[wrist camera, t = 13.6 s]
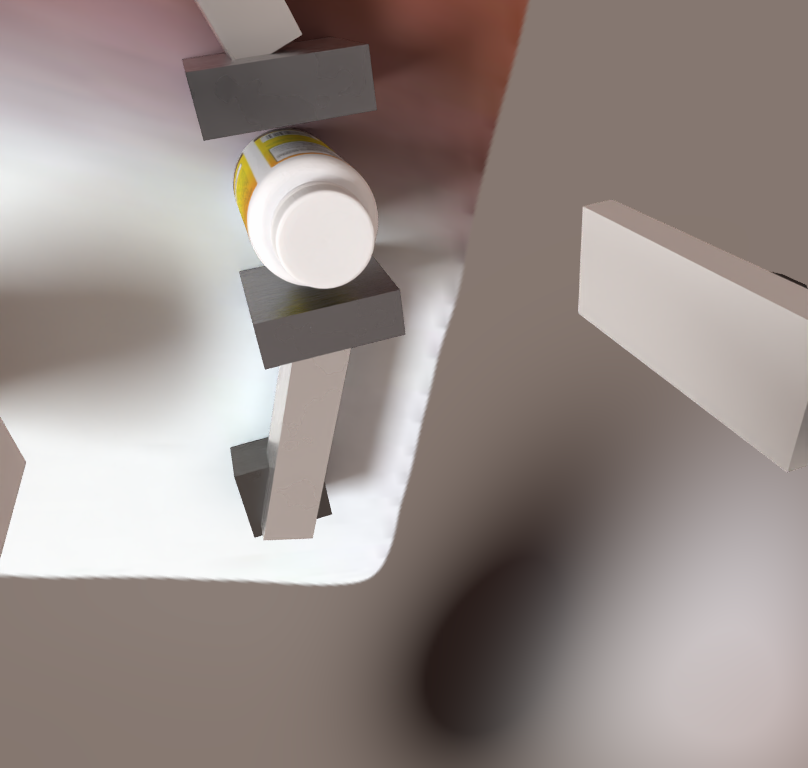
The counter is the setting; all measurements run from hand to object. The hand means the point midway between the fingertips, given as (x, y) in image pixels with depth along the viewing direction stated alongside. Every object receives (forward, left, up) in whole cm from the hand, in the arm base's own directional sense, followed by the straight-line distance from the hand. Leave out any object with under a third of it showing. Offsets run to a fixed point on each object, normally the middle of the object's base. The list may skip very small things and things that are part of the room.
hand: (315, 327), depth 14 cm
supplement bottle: (+2, -2, -22) cm, 22 cm away
